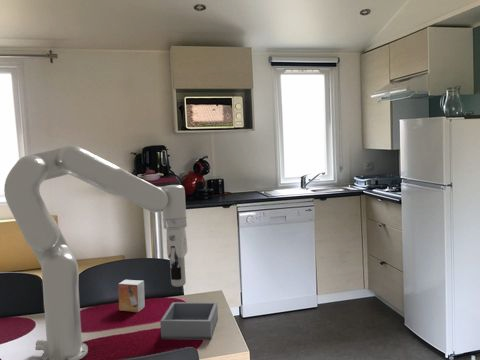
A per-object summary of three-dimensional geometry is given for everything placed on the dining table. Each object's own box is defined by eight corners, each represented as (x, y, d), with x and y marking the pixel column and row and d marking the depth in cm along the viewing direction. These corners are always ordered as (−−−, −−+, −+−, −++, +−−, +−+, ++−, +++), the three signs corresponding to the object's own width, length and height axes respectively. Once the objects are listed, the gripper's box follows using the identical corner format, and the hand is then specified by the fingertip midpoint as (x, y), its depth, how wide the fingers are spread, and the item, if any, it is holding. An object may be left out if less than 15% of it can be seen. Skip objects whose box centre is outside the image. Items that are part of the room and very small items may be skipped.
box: (161, 339, 135) (160, 320, 134) (173, 318, 151) (172, 302, 150) (211, 339, 133) (210, 321, 133) (217, 318, 149) (217, 302, 149)
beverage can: (183, 287, 138) (181, 251, 137) (169, 286, 139) (167, 251, 138) (187, 282, 143) (185, 247, 142) (174, 282, 144) (172, 247, 143)
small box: (119, 311, 159) (117, 283, 158) (126, 305, 165) (125, 279, 164) (138, 312, 157) (137, 284, 156) (145, 306, 163) (144, 280, 162)
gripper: (181, 227, 131) (184, 285, 132) (190, 217, 148) (193, 268, 149) (157, 228, 131) (160, 285, 133) (169, 218, 148) (172, 269, 150)
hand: (178, 276), depth 141 cm, fingers closed on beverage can, 4 cm apart
